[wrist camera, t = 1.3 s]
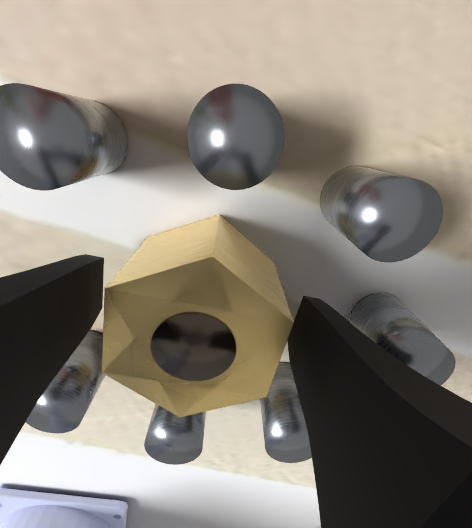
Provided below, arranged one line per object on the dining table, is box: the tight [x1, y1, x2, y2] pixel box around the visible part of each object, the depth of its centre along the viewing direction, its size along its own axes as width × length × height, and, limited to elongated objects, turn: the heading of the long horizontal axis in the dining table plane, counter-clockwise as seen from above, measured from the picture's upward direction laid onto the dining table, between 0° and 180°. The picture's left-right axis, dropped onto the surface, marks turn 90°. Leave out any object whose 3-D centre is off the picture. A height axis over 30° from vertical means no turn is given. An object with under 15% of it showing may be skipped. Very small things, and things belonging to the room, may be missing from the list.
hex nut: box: [102, 215, 294, 417], centre depth 10 cm, size 6×5×4 cm
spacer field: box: [0, 83, 455, 464], centre depth 10 cm, size 13×14×3 cm
